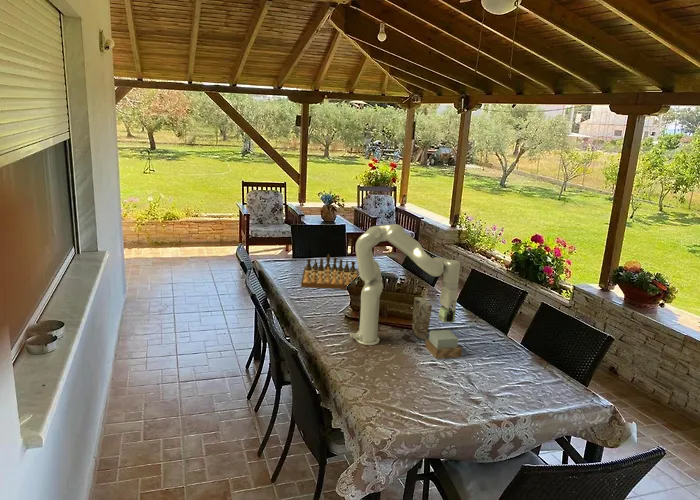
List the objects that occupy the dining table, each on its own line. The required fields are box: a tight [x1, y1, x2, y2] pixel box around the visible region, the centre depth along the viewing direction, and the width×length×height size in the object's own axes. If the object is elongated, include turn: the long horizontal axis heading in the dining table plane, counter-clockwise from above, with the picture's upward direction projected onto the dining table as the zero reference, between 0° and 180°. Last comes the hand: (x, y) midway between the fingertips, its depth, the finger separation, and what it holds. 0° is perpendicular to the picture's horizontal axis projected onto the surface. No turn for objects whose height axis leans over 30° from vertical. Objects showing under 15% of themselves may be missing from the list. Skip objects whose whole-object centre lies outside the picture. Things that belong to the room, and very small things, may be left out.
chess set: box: [300, 253, 360, 290], centre depth 372 cm, size 40×40×15 cm
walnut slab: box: [424, 338, 463, 360], centre depth 268 cm, size 14×14×5 cm
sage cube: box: [438, 306, 457, 324], centre depth 264 cm, size 6×6×6 cm
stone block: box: [411, 296, 433, 340], centre depth 286 cm, size 13×7×20 cm, turn 18°
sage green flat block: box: [428, 329, 459, 349], centre depth 267 cm, size 11×11×5 cm
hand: (446, 318), depth 264 cm, fingers closed on sage cube, 6 cm apart
